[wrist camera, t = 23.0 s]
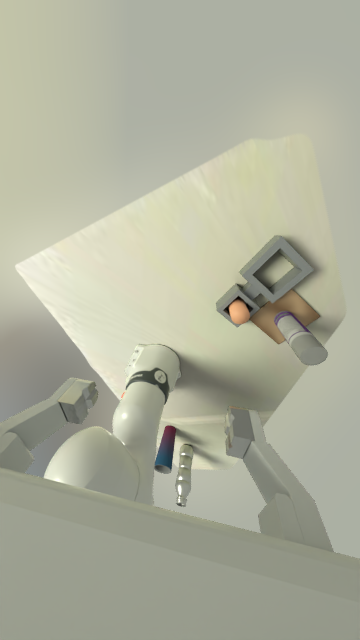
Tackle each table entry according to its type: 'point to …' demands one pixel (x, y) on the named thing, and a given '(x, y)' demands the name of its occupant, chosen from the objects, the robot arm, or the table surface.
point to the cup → (166, 451)
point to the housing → (256, 286)
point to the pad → (284, 303)
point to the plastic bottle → (184, 474)
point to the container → (300, 339)
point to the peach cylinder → (239, 311)
